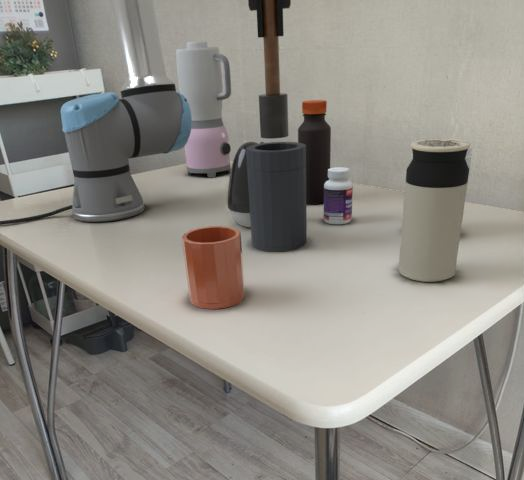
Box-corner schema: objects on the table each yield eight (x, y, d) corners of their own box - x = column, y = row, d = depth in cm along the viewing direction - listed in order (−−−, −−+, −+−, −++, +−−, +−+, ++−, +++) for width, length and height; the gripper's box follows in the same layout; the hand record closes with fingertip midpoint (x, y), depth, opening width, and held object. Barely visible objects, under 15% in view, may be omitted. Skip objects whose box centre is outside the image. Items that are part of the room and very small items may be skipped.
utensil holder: (250, 252, 90) (243, 153, 82) (253, 235, 98) (248, 143, 90) (307, 251, 89) (306, 150, 81) (306, 233, 97) (305, 140, 89)
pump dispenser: (289, 218, 106) (287, 137, 99) (268, 233, 98) (264, 146, 91) (244, 214, 110) (238, 136, 103) (219, 229, 102) (212, 145, 95)
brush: (259, 139, 82) (250, -54, 71) (261, 135, 86) (252, -48, 74) (288, 137, 82) (283, -56, 70) (288, 133, 86) (284, -51, 74)
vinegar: (326, 205, 113) (327, 102, 104) (295, 204, 115) (293, 103, 106) (332, 197, 119) (334, 99, 109) (303, 196, 121) (302, 100, 111)
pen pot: (185, 309, 71) (177, 244, 67) (195, 287, 78) (187, 226, 73) (242, 308, 71) (237, 243, 66) (246, 286, 77) (242, 225, 73)
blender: (178, 176, 148) (161, 43, 132) (205, 167, 157) (192, 42, 141) (223, 180, 140) (211, 40, 125) (249, 171, 149) (241, 39, 133)
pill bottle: (350, 225, 100) (352, 172, 95) (322, 225, 101) (322, 172, 96) (352, 217, 105) (354, 166, 100) (325, 217, 106) (325, 166, 101)
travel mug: (421, 287, 73) (435, 150, 65) (387, 269, 80) (396, 142, 71) (466, 276, 76) (486, 143, 67) (430, 259, 82) (444, 136, 74)
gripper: (197, -190, 63) (215, 39, 75) (325, -202, 62) (324, 33, 74) (206, -168, 70) (222, 40, 81) (323, -178, 68) (322, 34, 80)
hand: (270, 36), depth 77 cm, fingers closed on brush, 2 cm apart
